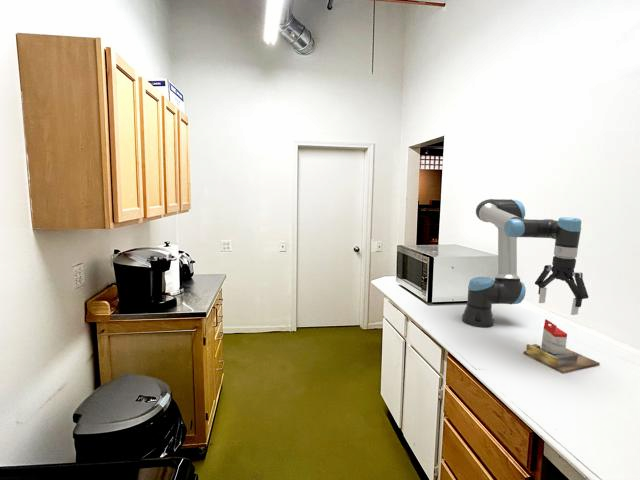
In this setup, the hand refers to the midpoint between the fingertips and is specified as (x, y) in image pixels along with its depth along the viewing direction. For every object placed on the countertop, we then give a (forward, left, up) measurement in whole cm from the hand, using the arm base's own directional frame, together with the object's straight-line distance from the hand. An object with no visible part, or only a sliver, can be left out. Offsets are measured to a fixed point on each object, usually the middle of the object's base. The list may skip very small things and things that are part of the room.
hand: (557, 308), depth 143 cm
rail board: (+1, +4, -22) cm, 22 cm away
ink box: (0, +1, -21) cm, 21 cm away
